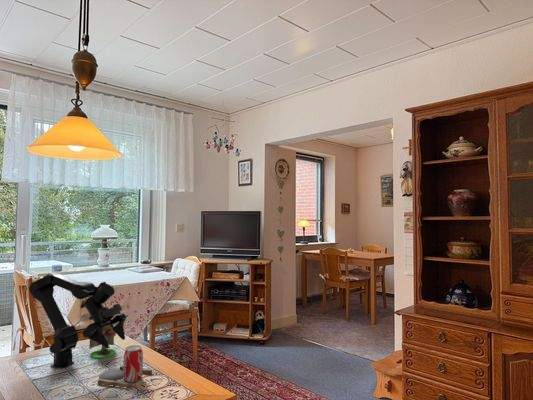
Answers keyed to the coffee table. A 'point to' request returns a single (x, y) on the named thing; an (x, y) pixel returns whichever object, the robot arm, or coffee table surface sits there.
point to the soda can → (133, 363)
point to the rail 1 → (115, 383)
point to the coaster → (111, 374)
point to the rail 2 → (146, 371)
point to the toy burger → (104, 352)
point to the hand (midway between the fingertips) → (116, 342)
